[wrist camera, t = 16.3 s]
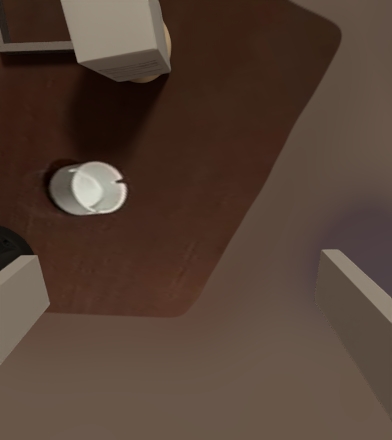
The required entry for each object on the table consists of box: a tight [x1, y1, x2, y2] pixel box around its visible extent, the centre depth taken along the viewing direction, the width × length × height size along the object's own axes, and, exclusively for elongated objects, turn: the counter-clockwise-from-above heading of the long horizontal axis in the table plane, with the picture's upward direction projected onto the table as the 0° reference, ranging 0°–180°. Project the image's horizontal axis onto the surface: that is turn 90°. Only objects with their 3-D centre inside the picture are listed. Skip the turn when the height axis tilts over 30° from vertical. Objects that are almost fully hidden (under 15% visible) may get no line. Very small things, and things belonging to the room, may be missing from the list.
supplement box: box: [61, 0, 171, 82], centre depth 33 cm, size 9×9×15 cm
